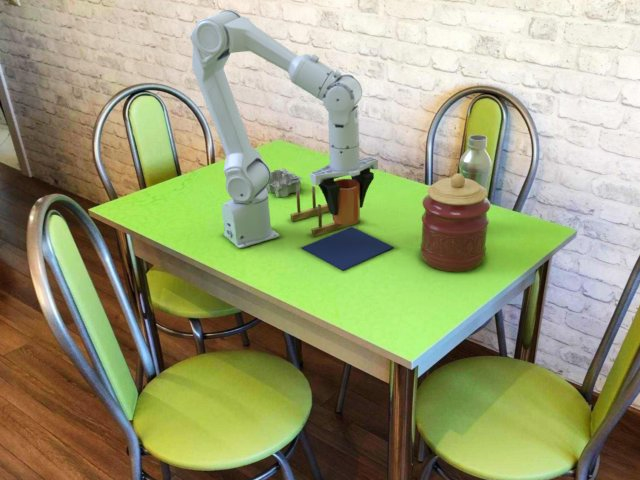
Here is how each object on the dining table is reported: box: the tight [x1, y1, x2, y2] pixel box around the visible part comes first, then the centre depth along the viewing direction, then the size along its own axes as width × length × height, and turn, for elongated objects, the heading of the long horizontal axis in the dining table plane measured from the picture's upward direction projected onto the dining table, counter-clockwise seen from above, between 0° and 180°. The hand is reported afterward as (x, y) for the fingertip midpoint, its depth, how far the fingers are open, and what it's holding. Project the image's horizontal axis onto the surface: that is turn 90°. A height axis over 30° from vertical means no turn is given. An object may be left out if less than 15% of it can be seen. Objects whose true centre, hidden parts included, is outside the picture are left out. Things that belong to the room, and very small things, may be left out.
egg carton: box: [267, 168, 303, 198], centre depth 169 cm, size 11×8×4 cm
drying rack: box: [289, 185, 361, 238], centre depth 153 cm, size 12×10×7 cm
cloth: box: [301, 226, 395, 272], centre depth 144 cm, size 14×13×1 cm
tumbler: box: [331, 178, 361, 225], centre depth 139 cm, size 6×6×8 cm
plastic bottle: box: [458, 134, 493, 191], centre depth 146 cm, size 6×7×20 cm
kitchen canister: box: [420, 173, 491, 272], centre depth 135 cm, size 13×13×18 cm
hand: (345, 209), depth 140 cm, fingers closed on tumbler, 5 cm apart
